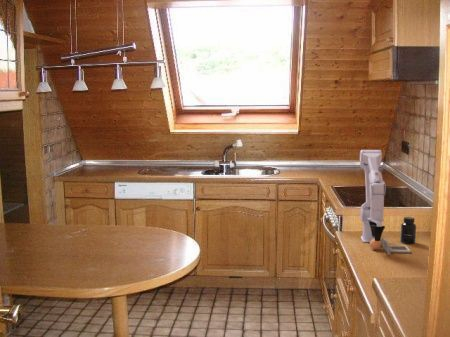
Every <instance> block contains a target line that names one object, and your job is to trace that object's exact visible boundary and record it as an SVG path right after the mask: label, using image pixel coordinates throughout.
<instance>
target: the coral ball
mask: <svg viewBox="0 0 450 337" xmlns="http://www.w3.org/2000/svg"><path fill="white" fill-rule="evenodd" d="M369 246H370V248H371V249H373V250H376V251H377V250H380V249H381V247H382V240H380V241H375V239H372V240H371V242H369Z"/></svg>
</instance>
